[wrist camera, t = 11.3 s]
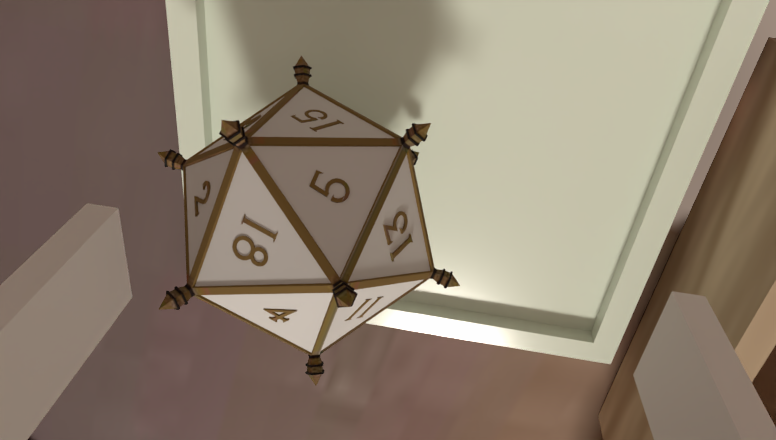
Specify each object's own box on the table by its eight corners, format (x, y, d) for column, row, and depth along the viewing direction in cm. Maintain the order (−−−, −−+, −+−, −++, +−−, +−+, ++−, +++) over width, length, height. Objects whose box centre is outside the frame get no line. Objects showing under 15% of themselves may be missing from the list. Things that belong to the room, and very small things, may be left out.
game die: (499, 303, 22) (279, 503, 16) (340, 196, 26) (124, 325, 21) (549, 79, 16) (227, 277, 10) (332, -11, 20) (25, 94, 15)
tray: (203, 277, 27) (192, 293, 26) (167, -173, 18) (149, -173, 17) (605, 344, 26) (610, 364, 25) (788, -93, 17) (808, -88, 16)
